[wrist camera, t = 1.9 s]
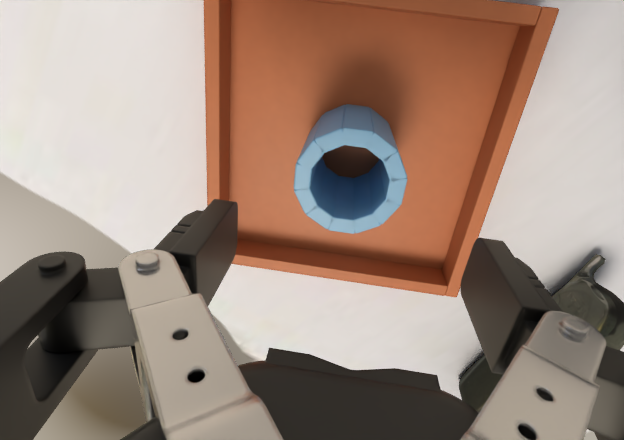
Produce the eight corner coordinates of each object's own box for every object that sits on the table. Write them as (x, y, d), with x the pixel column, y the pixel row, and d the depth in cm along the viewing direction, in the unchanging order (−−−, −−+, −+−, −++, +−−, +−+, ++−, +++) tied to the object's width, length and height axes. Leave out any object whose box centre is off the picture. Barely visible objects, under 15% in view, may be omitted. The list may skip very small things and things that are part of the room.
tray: (219, 242, 28) (208, 260, 25) (218, -28, 20) (202, -35, 18) (448, 276, 27) (456, 298, 25) (538, 10, 19) (560, 8, 17)
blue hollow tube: (304, 182, 24) (289, 225, 19) (313, 99, 22) (299, 121, 17) (384, 193, 24) (393, 240, 19) (402, 110, 22) (417, 137, 16)
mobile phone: (498, 454, 28) (679, 318, 21) (463, 439, 27) (635, 296, 20) (479, 394, 32) (623, 265, 25) (448, 380, 32) (586, 246, 25)
